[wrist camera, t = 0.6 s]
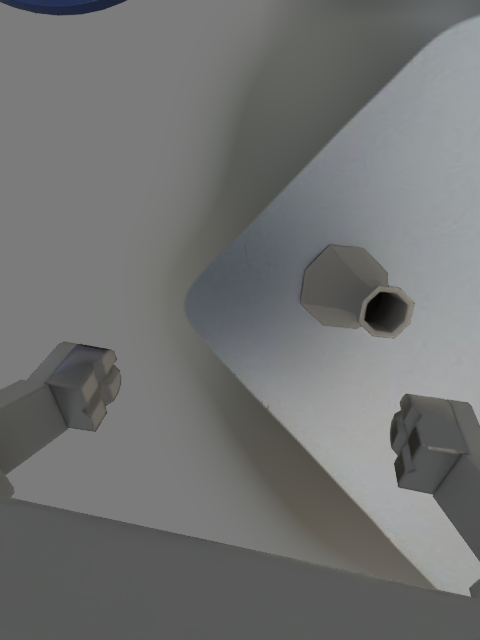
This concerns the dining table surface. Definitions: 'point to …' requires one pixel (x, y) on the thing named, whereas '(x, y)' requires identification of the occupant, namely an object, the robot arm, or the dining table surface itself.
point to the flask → (354, 293)
